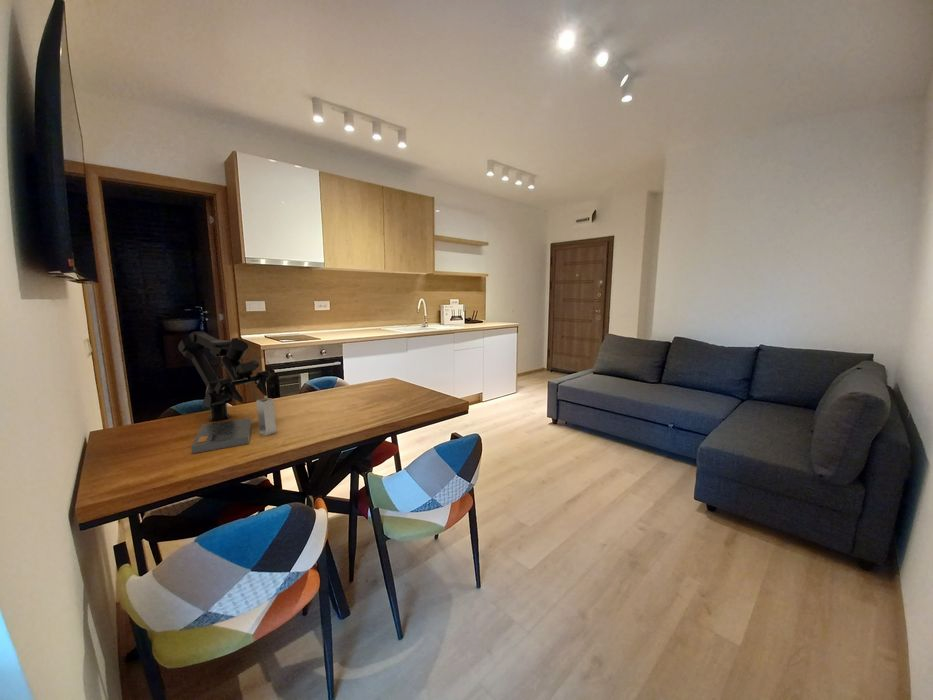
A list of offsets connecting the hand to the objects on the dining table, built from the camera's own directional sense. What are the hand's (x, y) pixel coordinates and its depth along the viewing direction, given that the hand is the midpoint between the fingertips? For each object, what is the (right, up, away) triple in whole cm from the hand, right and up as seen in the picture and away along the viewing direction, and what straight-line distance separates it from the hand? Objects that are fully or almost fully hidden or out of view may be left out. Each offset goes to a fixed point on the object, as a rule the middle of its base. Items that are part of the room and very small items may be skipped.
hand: (254, 398), depth 136 cm
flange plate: (-8, -13, -5) cm, 16 cm away
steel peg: (+6, -13, -1) cm, 14 cm away
